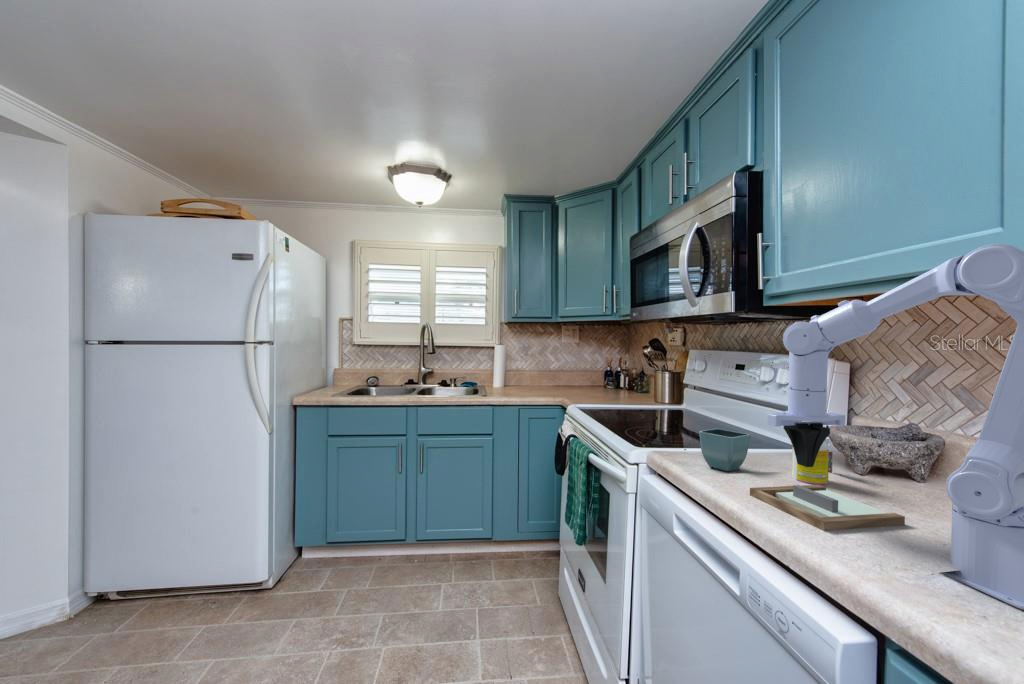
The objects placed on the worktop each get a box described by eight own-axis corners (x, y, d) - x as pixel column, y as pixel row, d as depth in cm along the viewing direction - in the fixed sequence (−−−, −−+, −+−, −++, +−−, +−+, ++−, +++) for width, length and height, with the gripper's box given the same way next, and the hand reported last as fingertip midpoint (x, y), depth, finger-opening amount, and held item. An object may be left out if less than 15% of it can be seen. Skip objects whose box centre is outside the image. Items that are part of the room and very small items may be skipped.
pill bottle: (836, 476, 103) (837, 439, 103) (812, 474, 104) (813, 438, 104) (825, 470, 108) (826, 435, 108) (802, 468, 109) (803, 433, 109)
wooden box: (904, 534, 71) (904, 516, 71) (823, 540, 68) (823, 521, 68) (818, 499, 87) (818, 484, 87) (749, 502, 84) (749, 487, 84)
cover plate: (891, 520, 73) (892, 502, 73) (833, 523, 71) (833, 505, 71) (827, 495, 85) (828, 480, 85) (775, 497, 83) (775, 482, 83)
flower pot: (716, 461, 114) (717, 427, 114) (750, 470, 106) (751, 434, 106) (697, 466, 109) (698, 430, 109) (731, 475, 101) (732, 437, 101)
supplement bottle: (834, 493, 91) (836, 432, 91) (800, 490, 92) (802, 430, 92) (817, 482, 97) (818, 426, 97) (785, 480, 98) (787, 425, 99)
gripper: (821, 387, 82) (819, 458, 82) (755, 387, 79) (753, 460, 79) (857, 392, 75) (855, 469, 75) (786, 391, 72) (784, 471, 72)
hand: (805, 465), depth 77 cm, fingers closed
